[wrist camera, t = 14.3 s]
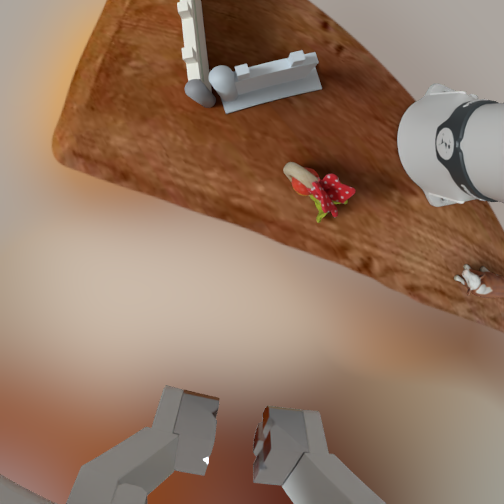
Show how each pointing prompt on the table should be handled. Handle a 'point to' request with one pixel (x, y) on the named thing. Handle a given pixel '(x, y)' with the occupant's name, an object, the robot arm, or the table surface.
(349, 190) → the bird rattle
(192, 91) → the fence panel
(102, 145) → the table surface
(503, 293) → the bull figurine
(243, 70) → the grey toy wall
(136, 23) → the table surface
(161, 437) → the robot arm
